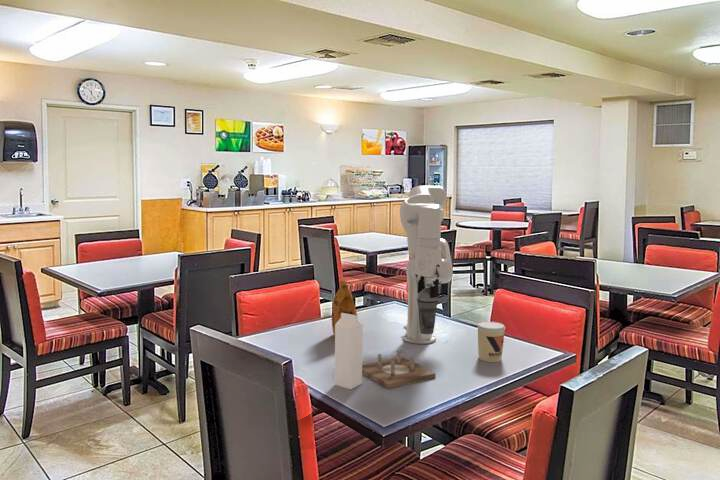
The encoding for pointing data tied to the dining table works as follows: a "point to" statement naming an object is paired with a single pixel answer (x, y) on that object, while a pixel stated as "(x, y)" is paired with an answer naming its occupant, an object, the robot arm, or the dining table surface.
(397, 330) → the dining table surface
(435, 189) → the robot arm
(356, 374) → the milk
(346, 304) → the coffee package
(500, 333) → the coffee cup
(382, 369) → the cup stand
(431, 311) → the beverage cup
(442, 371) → the dining table surface
